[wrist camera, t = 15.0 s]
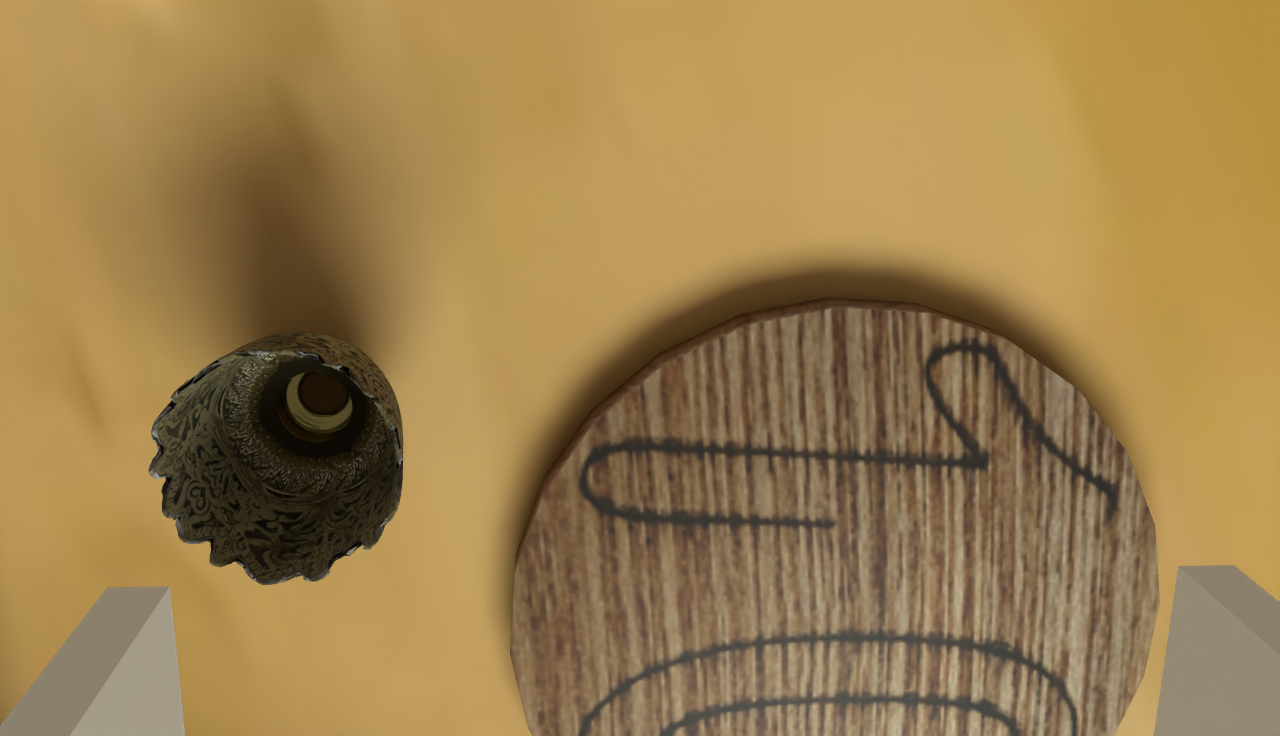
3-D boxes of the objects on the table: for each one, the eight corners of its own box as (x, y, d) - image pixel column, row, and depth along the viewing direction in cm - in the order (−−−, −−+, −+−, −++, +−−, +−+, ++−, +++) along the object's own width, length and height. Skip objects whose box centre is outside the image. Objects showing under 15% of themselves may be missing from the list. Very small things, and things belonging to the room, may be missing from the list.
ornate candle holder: (353, 253, 43) (310, 305, 35) (466, 423, 45) (449, 508, 37) (175, 359, 43) (95, 433, 36) (295, 523, 45) (243, 626, 38)
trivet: (484, 317, 44) (481, 330, 42) (1158, 273, 46) (1183, 284, 44) (535, 897, 51) (535, 929, 49) (1118, 845, 53) (1139, 874, 51)
